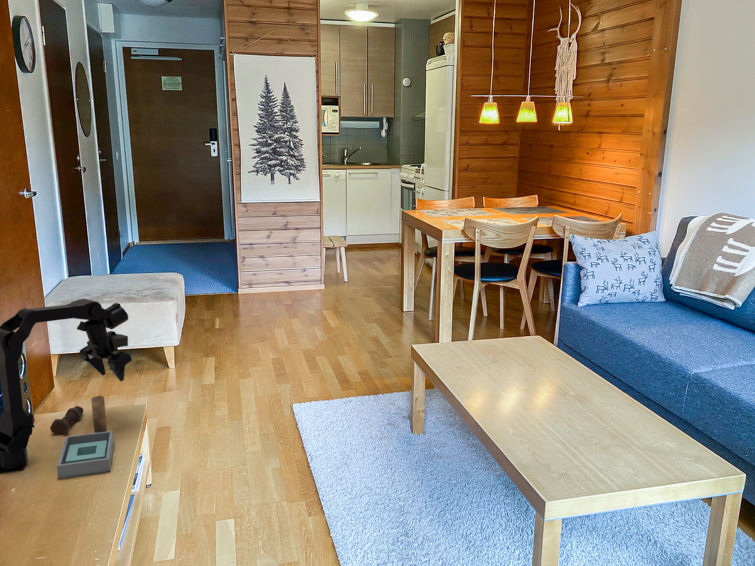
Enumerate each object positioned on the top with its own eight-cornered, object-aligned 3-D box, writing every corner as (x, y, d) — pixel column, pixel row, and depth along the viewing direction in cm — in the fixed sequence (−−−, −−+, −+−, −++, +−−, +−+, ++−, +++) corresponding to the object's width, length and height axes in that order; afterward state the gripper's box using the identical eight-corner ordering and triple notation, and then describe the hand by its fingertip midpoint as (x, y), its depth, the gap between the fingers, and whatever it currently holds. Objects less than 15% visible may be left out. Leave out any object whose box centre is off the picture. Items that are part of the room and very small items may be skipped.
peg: (94, 440, 190) (90, 401, 187) (95, 435, 194) (91, 396, 191) (106, 438, 192) (103, 400, 189) (107, 433, 195) (104, 395, 192)
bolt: (82, 420, 208) (62, 439, 193) (68, 413, 207) (47, 432, 192) (90, 406, 207) (70, 424, 192) (76, 399, 206) (55, 417, 192)
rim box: (58, 479, 169) (56, 466, 168) (67, 448, 185) (65, 436, 184) (109, 472, 173) (108, 459, 172) (113, 442, 189) (112, 430, 188)
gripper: (138, 329, 194) (151, 370, 201) (100, 319, 203) (114, 359, 210) (109, 347, 185) (124, 389, 192) (71, 335, 195) (86, 376, 201)
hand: (113, 377), depth 199 cm, fingers open, 9 cm apart
